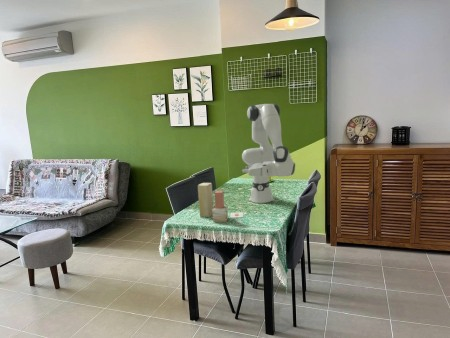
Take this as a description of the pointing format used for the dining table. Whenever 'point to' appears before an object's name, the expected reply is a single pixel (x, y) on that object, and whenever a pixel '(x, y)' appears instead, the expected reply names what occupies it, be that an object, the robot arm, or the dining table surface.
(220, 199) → the tall brick
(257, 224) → the dining table surface
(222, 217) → the tower base
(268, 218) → the dining table surface
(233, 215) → the page
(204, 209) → the tall beige pillar
